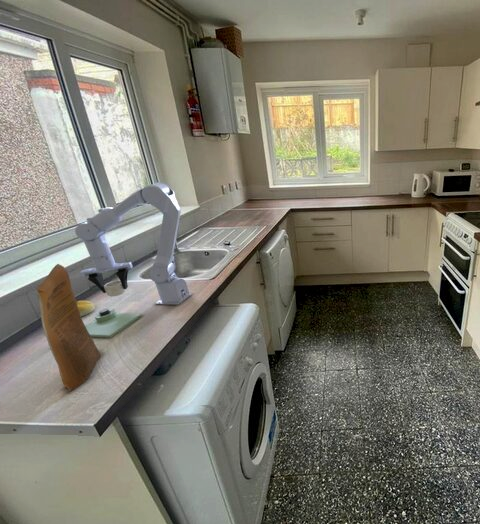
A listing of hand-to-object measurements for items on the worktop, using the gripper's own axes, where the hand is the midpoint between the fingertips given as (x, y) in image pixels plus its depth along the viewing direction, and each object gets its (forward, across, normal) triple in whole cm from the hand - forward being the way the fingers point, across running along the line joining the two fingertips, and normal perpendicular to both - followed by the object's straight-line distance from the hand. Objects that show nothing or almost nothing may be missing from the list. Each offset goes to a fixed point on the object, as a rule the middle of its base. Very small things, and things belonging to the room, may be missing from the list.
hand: (115, 289), depth 105 cm
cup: (+1, 0, 0) cm, 1 cm away
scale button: (+5, -3, -8) cm, 10 cm away
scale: (+7, -1, -13) cm, 15 cm away
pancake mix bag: (+8, +1, -36) cm, 37 cm away
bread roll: (+8, -14, +3) cm, 16 cm away
